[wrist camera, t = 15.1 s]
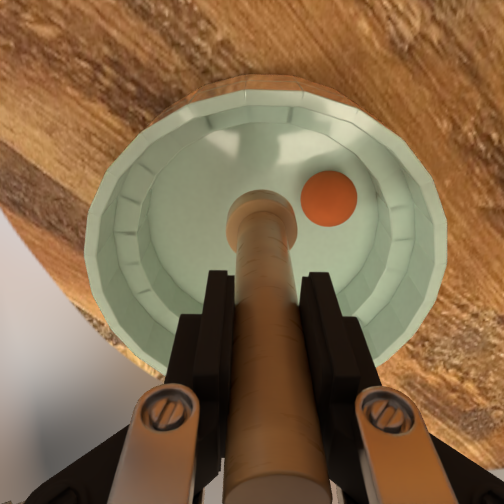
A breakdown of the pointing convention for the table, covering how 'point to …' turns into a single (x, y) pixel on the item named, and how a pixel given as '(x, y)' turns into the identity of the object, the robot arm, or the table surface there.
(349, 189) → the ball
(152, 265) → the bowl
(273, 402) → the rod
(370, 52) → the table surface
